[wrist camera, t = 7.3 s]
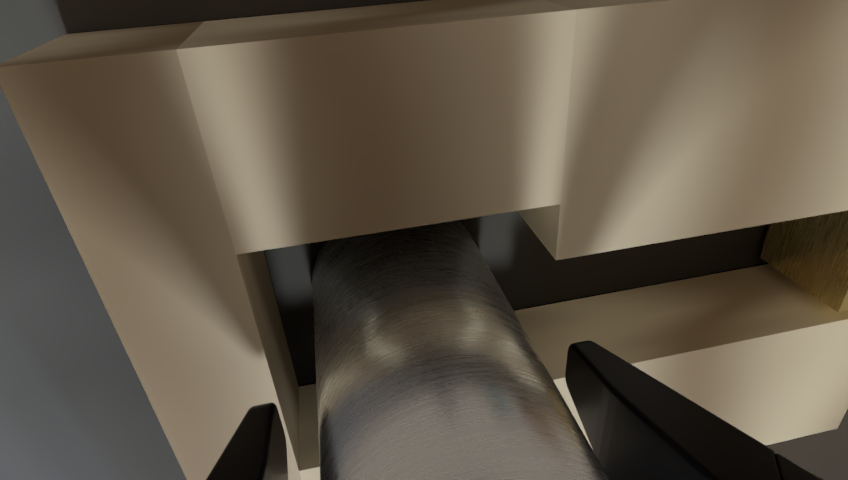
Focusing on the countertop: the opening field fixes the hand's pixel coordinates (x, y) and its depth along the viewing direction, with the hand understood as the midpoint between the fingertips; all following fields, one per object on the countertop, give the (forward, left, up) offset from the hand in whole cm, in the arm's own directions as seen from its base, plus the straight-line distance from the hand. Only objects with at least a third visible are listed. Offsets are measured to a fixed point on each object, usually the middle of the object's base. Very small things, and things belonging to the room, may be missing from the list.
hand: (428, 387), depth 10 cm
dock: (-4, 0, -4) cm, 5 cm away
